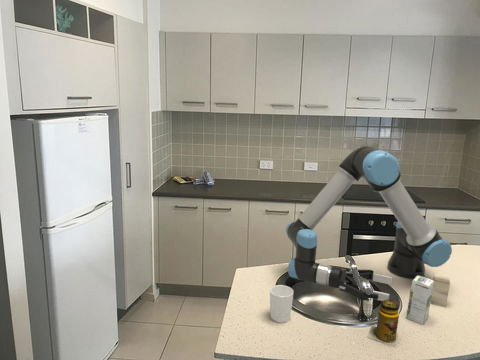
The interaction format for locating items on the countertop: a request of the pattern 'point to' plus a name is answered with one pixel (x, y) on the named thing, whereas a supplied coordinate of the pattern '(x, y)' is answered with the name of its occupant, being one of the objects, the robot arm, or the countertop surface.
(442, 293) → the beige block
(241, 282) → the countertop surface
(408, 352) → the countertop surface
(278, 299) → the white cup
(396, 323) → the condiment
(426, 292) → the syrup box
